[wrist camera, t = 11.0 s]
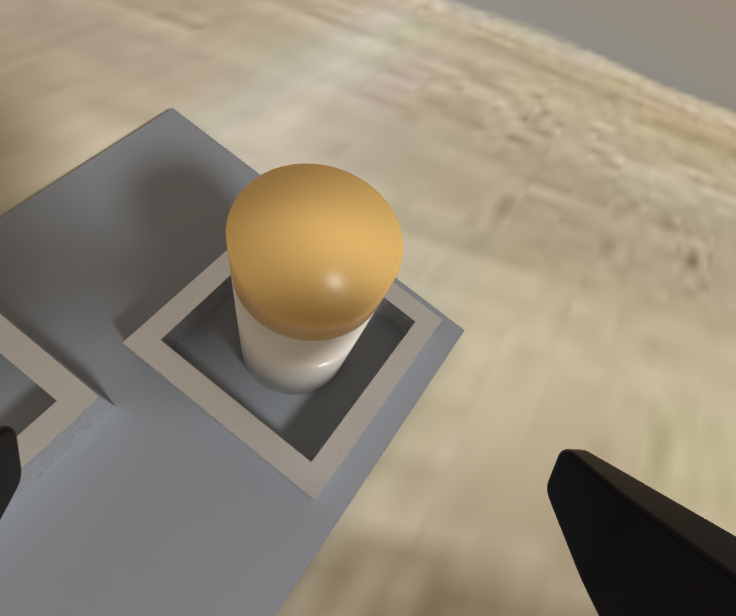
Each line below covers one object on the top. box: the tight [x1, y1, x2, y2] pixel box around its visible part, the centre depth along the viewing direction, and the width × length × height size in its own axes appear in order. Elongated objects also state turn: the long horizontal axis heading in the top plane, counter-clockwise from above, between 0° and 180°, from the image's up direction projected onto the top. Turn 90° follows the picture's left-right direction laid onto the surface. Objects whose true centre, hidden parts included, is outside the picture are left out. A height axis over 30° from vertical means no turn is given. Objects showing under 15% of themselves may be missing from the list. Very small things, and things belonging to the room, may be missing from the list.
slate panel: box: [0, 108, 464, 616], centre depth 19 cm, size 21×24×1 cm
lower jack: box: [123, 250, 442, 500], centre depth 20 cm, size 10×10×2 cm
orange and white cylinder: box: [226, 164, 403, 395], centre depth 17 cm, size 5×5×10 cm
